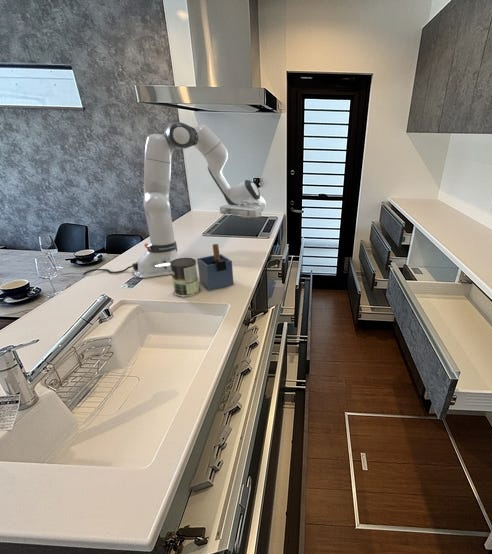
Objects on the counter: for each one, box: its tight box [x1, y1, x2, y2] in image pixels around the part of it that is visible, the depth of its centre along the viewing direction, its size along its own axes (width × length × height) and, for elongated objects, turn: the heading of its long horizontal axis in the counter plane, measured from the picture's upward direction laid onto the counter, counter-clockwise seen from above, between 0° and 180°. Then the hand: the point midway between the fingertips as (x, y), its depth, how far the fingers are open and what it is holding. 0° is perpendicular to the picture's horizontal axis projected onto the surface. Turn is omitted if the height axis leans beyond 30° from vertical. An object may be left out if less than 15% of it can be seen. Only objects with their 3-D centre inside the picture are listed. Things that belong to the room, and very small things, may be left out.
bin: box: [196, 253, 234, 291], centre depth 140 cm, size 12×12×12 cm
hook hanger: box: [212, 243, 226, 271], centre depth 134 cm, size 6×4×17 cm, turn 39°
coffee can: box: [170, 257, 200, 298], centre depth 130 cm, size 10×10×14 cm
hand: (231, 213), depth 143 cm, fingers open, 8 cm apart
